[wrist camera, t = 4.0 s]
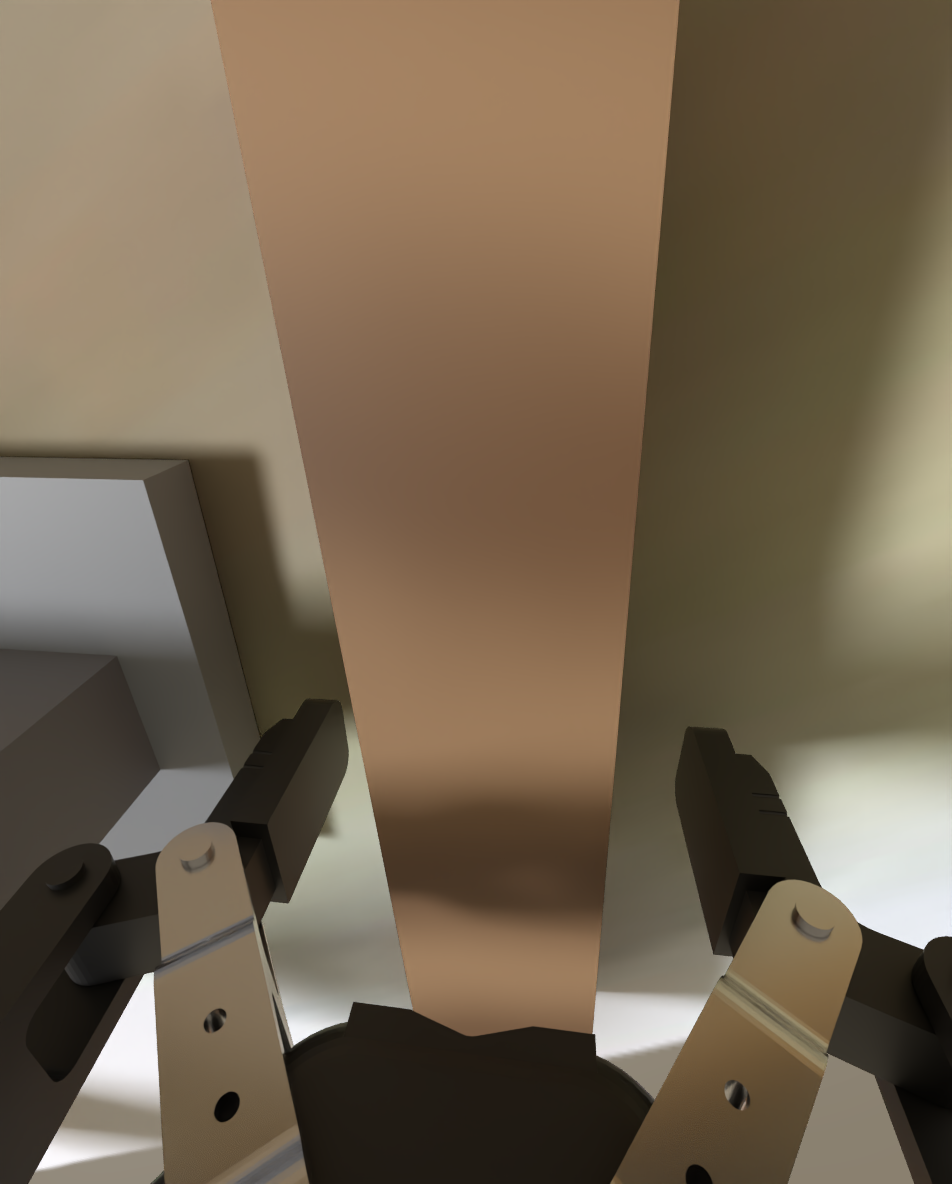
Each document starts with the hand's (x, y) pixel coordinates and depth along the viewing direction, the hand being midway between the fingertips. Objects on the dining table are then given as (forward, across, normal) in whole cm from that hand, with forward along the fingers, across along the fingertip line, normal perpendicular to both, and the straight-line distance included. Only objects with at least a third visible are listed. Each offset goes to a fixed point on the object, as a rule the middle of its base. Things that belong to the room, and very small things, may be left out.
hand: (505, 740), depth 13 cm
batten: (+2, 0, 0) cm, 2 cm away
